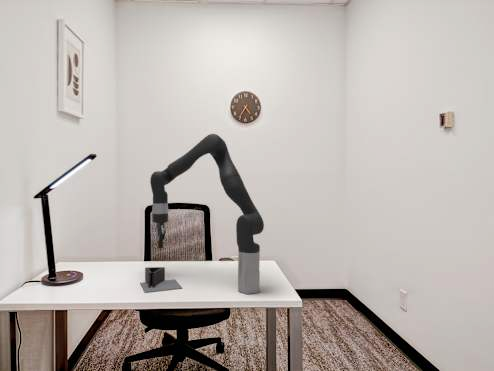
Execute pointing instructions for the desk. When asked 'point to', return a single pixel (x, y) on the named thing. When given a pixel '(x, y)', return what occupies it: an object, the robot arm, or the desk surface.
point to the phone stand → (154, 275)
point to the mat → (162, 286)
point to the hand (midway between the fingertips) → (160, 248)
